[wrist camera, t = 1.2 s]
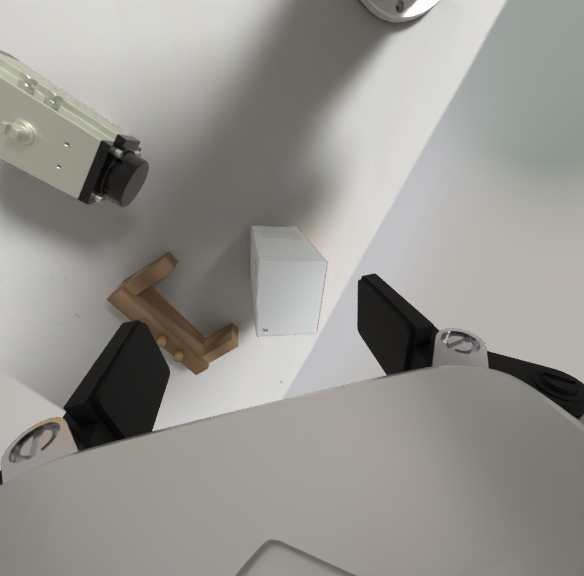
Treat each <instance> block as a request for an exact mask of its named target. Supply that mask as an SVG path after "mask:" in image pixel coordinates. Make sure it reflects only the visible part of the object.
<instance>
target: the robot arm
mask: <svg viewBox="0 0 584 576" xmlns="http://www.w3.org/2000/svg"><path fill="white" fill-rule="evenodd" d="M360 1H361V2H362V3H363V4H364V5H365V7H366V8H367V9H368V10H369V11H370V12H371V13H373V14H374V15H376V16H377V17H379V18H380V19H383V20H386V21H389V22H400V23H402V22H406V21H410V20H413V19H415V18H417V17H419V16H421V15H423V14H425V13H426V12H427V11H428V10H430V9H431V8H432V7H434V6H435V5H436V4H437V3H438V2H439V1H440V0H360ZM396 10H397V11H396ZM357 325H358V331H359V334H360V335H361V337H362V338H363V340H364V341H365V343H366V344H367V346H368V347H369V349H370V350H371V352H372V354H373V355H374V357H375V358H376V359H377V361H378V362H379V364H380V366H381V367H382V368H383V370H384V371H385V373H386V374H387V375H386V376H382V377H378V378H373V379H369V380H364V381H360V382H356V383H351V384H347V385H343V386H339V387H335V388H330V389H326V390H322V391H317V392H313V393H309V394H305V395H300V396H296V397H292V398H288V399H284V400H279V401H275V402H271V403H267V404H263V405H259V406H254V407H250V408H246V409H242V410H238V411H234V412H230V413H226V414H221V415H217V416H213V417H209V418H205V419H201V420H197V421H193V422H189V423H185V424H181V425H177V426H173V427H169V428H165V429H161V430H157V431H152V429H153V426H154V423H155V420H156V417H157V414H158V411H159V408H160V404H161V401H162V398H163V395H164V392H165V389H166V386H167V383H168V379H169V376H170V370H169V367H168V365H167V363H166V361H165V359H164V357H163V355H162V353H161V351H160V349H159V347H158V345H157V343H156V341H155V339H154V337H153V335H152V333H151V331H150V329H149V327H148V325H147V324H146V323H145V322H143V323H142V322H141V321H140V320H136V321H130V322H125V323H123V324H122V325H121V326H120V328H119V329H118V330H117V332H116V333H115V335H114V336H113V338H112V339H111V340H110V342H109V343H108V345H107V346H106V348H105V349H104V350H103V352H102V353H101V355H100V356H99V358H98V359H97V360H96V362H95V363H94V365H93V366H92V368H91V369H90V370H89V372H88V373H87V375H86V376H85V378H84V379H83V380H82V382H81V383H80V385H79V386H78V388H77V389H76V390H75V392H74V393H73V395H72V396H71V398H70V399H69V400H68V402H67V403H66V405H65V406H64V410H65V411H66V413H65V415H64V416H63V418H59V417H56V418H50V419H47V420H45V421H42V422H40V423H38V424H37V425H34V426H33V427H31V428H29V429H28V430H27V431H25V432H24V433H22V434H21V435H20V436H19V437H18V438H17V439H16V440H14V442H13V443H12V444H11V445H10V446H9V447H8V448H7V450H6V451H5V453H4V455H3V456H2V460H1V471H0V576H584V384H583V383H582V382H580V381H579V380H577V379H576V378H574V377H572V376H570V375H568V374H566V373H564V372H561V371H559V370H556V369H553V368H549V367H545V366H541V365H538V364H534V363H530V362H526V361H522V360H519V359H515V358H511V357H507V356H503V355H500V354H496V353H492V352H489V351H487V348H486V345H485V343H484V342H483V341H482V339H481V338H479V337H478V336H476V335H475V334H473V333H471V332H468V331H465V330H462V329H454V328H449V329H444V330H441V331H439V330H438V329H437V328H436V327H434V325H433V324H432V323H431V322H430V321H429V320H428V319H427V318H425V317H424V316H423V315H422V314H421V313H420V312H419V311H418V310H416V309H415V308H414V307H413V306H412V305H411V304H409V303H408V302H407V301H406V300H405V299H404V298H403V297H402V296H400V295H399V294H398V293H397V292H396V291H395V290H394V289H392V288H391V287H390V286H389V285H388V284H387V283H386V282H385V281H383V280H382V279H381V278H380V277H379V276H378V275H376V274H370V275H365V276H362V278H361V280H359V281H358V324H357Z"/></svg>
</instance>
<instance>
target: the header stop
mask: <svg viewBox="0 0 584 576" xmlns="http://www.w3.org/2000/svg"><path fill="white" fill-rule="evenodd" d="M176 263H177V261H176V259H175V258H174V257H173V256H172V255H171V254H170V253H169V252H168V253H167V254H165V255H164V256H162V257H161V258H159V259H157V260H156V261H154V262H153V263H151V264H149V265H148V266H146V267H145V268H143V269H142V270H140V271H138V272H137V273H135V274H134V275H132V276H131V277H129V278H127V279H126V280H124V281H123V282H122V284H121V285H120V286H119V287H118V288H117V289H116V290H115V291H114V292H113V293H112V294H111V295H110V296H109V298H108V299H107V300H108V301H109V302H110V303H111V304H113V305H114V306H115V307H116V308H117V309H118V310H120V311H121V312H122V313H123V314H124V315H126V316H127V317H128V318H129V319H130V320H131V321H136V320H140V321H141V322H142V323H143V322H145V323H146V324H147V325H148V327H149V329H150V331H151V333H152V335H153V337H154V339H155V341H156V343H157V345H158V347H163V348H165V349H166V350H167V351H168V352H169V353H171V354H172V355H173V356H174V361H176V362H179V361H180V362H181V363H182V364H184V365H185V366H186V367H187V368H188V369H189V370H191V371H192V372H193V373H194V374H195V375H197V374H199V373H201V372H202V371H204V370H206V369H208V365H209V363H210V362H212V361H213V360H215V359H217V358H219V357H220V356H222V355H224V354H225V353H227V352H229V351H231V350H232V349H234V348H236V347H238V329H237V327H236V326H235V325H234V324H233V323H231V324H230V325H228V326H226V327H225V328H223V329H221V330H220V331H218V332H216V333H214V334H213V335H211V336H209V337H208V338H206V339H205V338H204V337H203V336H202V335H201V334H200V333H199V332H198V331H197V330H196V329H195V328H194V327H193V326H192V325H191V324H190V323H188V322H187V321H186V320H185V319H184V318H183V317H182V316H181V315H180V314H179V313H178V312H177V311H176V310H175V309H174V308H173V307H172V306H171V305H170V304H169V303H168V302H167V301H166V300H165V299H164V298H163V297H162V296H161V295H160V294H159V293H158V292H157V291H156V290H155V289H154V288H153V287H152V286H151V285H153V284H155V283H156V282H158V281H159V280H161V279H163V278H164V277H166V276H167V275H169V274H170V273H171V271H172V270H173V268H174V266H175V264H176Z"/></svg>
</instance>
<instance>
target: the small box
mask: <svg viewBox="0 0 584 576" xmlns="http://www.w3.org/2000/svg"><path fill="white" fill-rule="evenodd" d="M327 264H328V262H327V261H326V259H325V258H324V257H323V256H322V255H321V254H320V253H319V251H318V250H317V249H316V248H315V247H314V246H313V245H312V243H311V242H310V241H309V240H308V239H307V238H306V237H305V235H304V234H303V233H302V232H301V231H300V230H299V229H298V228H297V227H280V226H256V225H252V226H251V232H250V280H251V288H252V297H253V308H254V318H255V328H256V336H257V337H259V336H281V335H297V334H314V333H317V330H318V323H319V316H320V310H321V303H322V297H323V291H324V284H325V277H326V271H327Z"/></svg>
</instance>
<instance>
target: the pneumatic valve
mask: <svg viewBox="0 0 584 576" xmlns="http://www.w3.org/2000/svg"><path fill="white" fill-rule="evenodd" d="M139 144H140V141H138V140H137V139H135V138H134V137H132V136H131V135H129V134H128V133H126V132H125V131H123V130H122V129H120V128H119V127H117V126H116V125H114V124H113V123H111V122H110V121H108V120H107V119H105V118H104V117H102V116H101V115H99V114H98V113H96V112H95V111H93V110H92V109H90V108H89V107H87V106H86V105H85V104H83V103H82V102H80V101H79V100H77V99H76V98H74V97H73V96H71V95H70V94H68V93H67V92H65V91H64V90H62V89H61V88H59V87H58V86H56V85H55V84H53V83H52V82H50V81H49V80H47V79H46V78H44V77H43V76H41V75H40V74H38V73H37V72H35V71H34V70H32V69H31V68H29V67H28V66H26V65H25V64H23V63H22V62H20V61H19V60H17V59H16V58H14V57H13V56H11V55H10V54H7V53H5V52H3V51H1V50H0V159H2V160H4V161H6V162H8V163H9V164H11V165H13V166H15V167H17V168H19V169H21V170H23V171H25V172H27V173H28V174H30V175H32V176H34V177H36V178H38V179H40V180H42V181H44V182H45V183H47V184H49V185H51V186H53V187H55V188H57V189H59V190H61V191H63V192H64V193H66V194H68V195H70V196H72V197H74V198H76V199H78V200H80V201H82V202H83V203H85V204H91V203H94V202H98V203H101V202H102V201H103V199H108V200H110V201H112V202H114V203H116V204H117V205H119V206H121V207H125V206H127V205H128V204H130V203H131V202H132V200H133V199H134V198H135V197H136V195H137V194H138V192H139V191H140V189H141V187H142V185H143V183H144V181H145V179H146V176H147V173H148V169H149V164H148V162H147V161H146V160H144V159H142V158H141V157H140V155H141V148H140V147H138V146H139Z"/></svg>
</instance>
